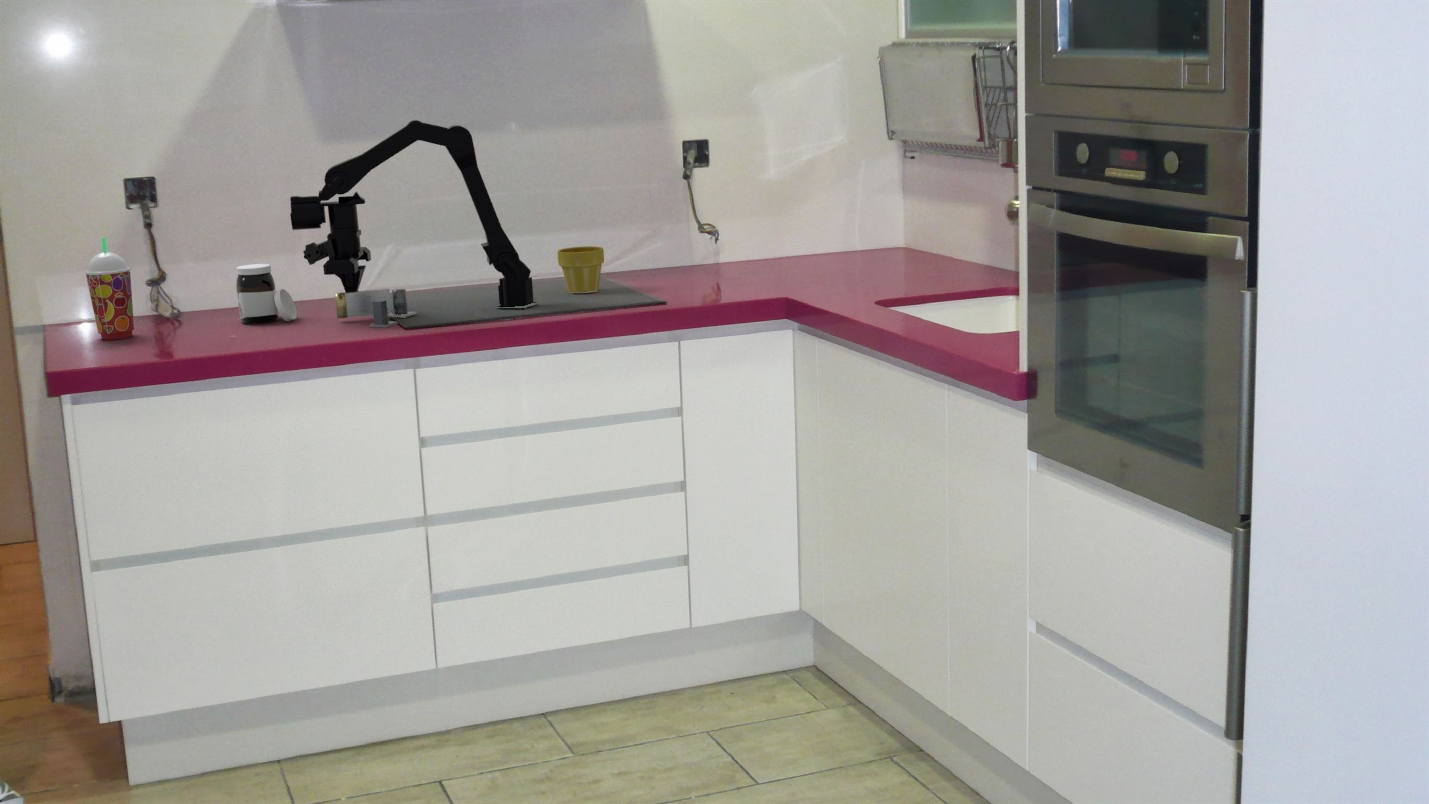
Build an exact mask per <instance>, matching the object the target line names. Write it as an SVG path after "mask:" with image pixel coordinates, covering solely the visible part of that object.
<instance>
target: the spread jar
mask: <svg viewBox="0 0 1429 804" xmlns="http://www.w3.org/2000/svg"><path fill="white" fill-rule="evenodd" d="M271 272H272V267H271V264H267V263H256V264H255V263H252V264H244V265H239V266H236V274H237V277H236V283H235V286H236V287H235V288H236V297H237V304H238V305H237V306H238V310H239V311H238V312H239V319H240V321H241V323H242V324H245V325H262V324H267V323H268V324H269V323H273V322H275V321H277V320H278V318H279V315H280V316H281V318H282V319H283V320H284V321H286V322H291V321H294V320H296V319H297V316H298V311H297V307H296V304H295V302H294V299H293V298H292V296H291V295H290V293H289V291H287V290H286V289H285V288H280V289H278V290H276V284H275V279H274V277H273V274H271Z"/></svg>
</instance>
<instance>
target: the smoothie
mask: <svg viewBox="0 0 1429 804" xmlns="http://www.w3.org/2000/svg"><path fill="white" fill-rule="evenodd" d="M101 243H102V252H98V253H97V254H95V255H94V256H92V258H90V261H89V262H88V265H87V267H86V270H85V271H84V274H85V277H86V280H87V286H88V290H89V295H90V301H91V306H92V310H93V314H94V320H95V323H96V325H95V326H96V329H97V333H98V334H100V337H101V339H102V340H106V341H114V340H115V341H116V340H124V339H125V340H126V339H128V338H131V337H132V336H133V331H134V330H135V320H134V307H133V306H134V305H133V295H132V279H131V277H132V276H131V267H130V266H129V265H128V263H127V262H126V260H125V259H124V258H123V257H122V256H121V255H120V254H117V253H116V252H115V253H114V252H113V251H108V249H107V243H106V238H104V237H102V238H101Z"/></svg>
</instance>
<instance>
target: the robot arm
mask: <svg viewBox="0 0 1429 804" xmlns="http://www.w3.org/2000/svg"><path fill="white" fill-rule="evenodd" d="M418 141H422V142H426V143H430V144H434V145H436V146H437V145H438V146H442V147H445V149H446V151H447V152H448V154H449V155H450V157H451V159H452V160H453V161H454V164H455V165H456V167H457V168H458V169H459V171H460V173H461V176H462V178H463V180H464V181H463V182H464V183H465V186H466V188H467V191H468V193H469V195H470V198H471V201H472V203H473V205H474V208H475V211H476V213H477V216H478V219H479V221H480V224H481V226H482V229H483V232H484V235H485V240H486V242H483V243H482V242H481V243H480V246H481V247H482V249H483V250H484V252H485V254H486V261H487V263H488V265H489V266H492V267H493V268H494V269H495V270H496V271H497V272H498V273H500V274H501V275H502V277H501V278H499V281H498V282H499V285H498V286H497V289H498V290H497V291H498V300H499V301H498V304H499V305H497V307H515V306H525V305H528V304H531V303H534V302H535V301H534V300H535V299H534V289H533V288H534V287H533V277H532V276H531V277H530V275H531V272H532V271H531V269H530V268H529V267H528V265H527V264H526V263H524V261H522V260H521V259H520V256H519V254H518V251H517V250H516V248H515V247H514V245H513V243H512V242H511V240H510V239H509V237H508V236H507V234H506V232H505V231H504V229H503V227H502V224H501V222H500V219H499V217H498V215H497V212H496V210H495V207H494V204H493V202H492V199H491V197H490V194H489V191H488V189H487V186H486V184H485V182H484V179H483V176H482V174H481V172H480V169H479V167H478V161H477V160H478V159H477V155H476V150H475V146H474V140H473V137H472V134H471V132H470V130H469V129H467V128H466V127H464V126H462V125H461V124H460V125H458V124H454V125H450V126H449V127H445V126H440V125H437V124H431V123H428V122H427V123H426V122H422V121H421V120H417V119H413V120H410V121H409V122H408V123H406V125H405V126H404V127H402V128H400V129H398V130H397V131H396V132H394V133H392V134H391V135H389V136H388V137H386V138H384V139H382V140H381V141H380V142H378V143H377V144H375V145H374V146H372V147H371V148H369V149H367V150H366V151H364V152H363V153H361V154H359V155H357V156H354V157H351V158H348V159H346V160H344V161H341V162H339V163H337V164H334V165H332V166H330V167H329V168H328V170H327V171H326V173H325V175H324V179H323V180H324V186H323V187H322V188H321V190H319V191H318V195H309V196H301V195H299V196H298V195H293V196H290V197H289V199H290V213H289V214H290V222H291V223H290V224H291V228H292V231H300V230H301V231H302V230H315V229H317V230H319V229H322V225H323V224H326V223H327V220H326V219H327V218H326V207H327V211H328V212H327V214H328V222H329V223H328V224H329V233H328V234H327V236H326V238H327V240H324V241H322V242H320V243H316V242H315V241H313V242H311V243H308V244H306V245H305V249H304V250H303V258H304V259H305V260H307V262H308V265H309V266H311V265H314V264H316V262H319V261H321V260H323V259H325V258H328V260H327V261H325V263H324V264H323V265H322V266H323V275H324V276H327V275H328V276H329V275H330V276H331V275H334V276H336V277H337V278H339V279H340V281H341V284H342V287H343V290H344V291H345V292H355V291H359V288H360V285H361V282H362V279H363V276H364V272H365V270H366V267H367V266H366V265H364V264H363V265H359V263H360V262H359V261H365V262H370V261H372V255H371V253H372V252H371V250H370V249H369V247H368V248H367V247H366V246H361V241H360V240H361V238H360V236H361V235H362V230H361V229H359V228H360V227H359V218H358V207H357V205H364V204H365V203H366V198H364V197H362V196H361V195H360V194H359V193H358V191H355V192H354V194H353V195H346V194H347V193H349V192H350V191H351V190H352V189H354V187H355V186H356V185H357V184H358V183H360V182H361V181H362V180H363V179H364V178H365V176H367V175H368V174H369V173H370V172H371V171H372V170H373V169H375V168H377V167H378V166H380V165H382V163H385V162H386V161H387V160H389V159H390V158H393V157H394V156H395V155H397V154H399V153H400V152H401V151H404V149H406V148H408V147H410V146H411V145H412V144H414V143H416V142H418ZM336 195H340V196H337V197H338V201H336V200H335V201H329V200H331V199H332V198H334V197H335V196H336ZM341 195H342V196H341ZM343 195H345V196H343ZM345 292H344V293H345Z"/></svg>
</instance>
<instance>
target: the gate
mask: <svg viewBox="0 0 1429 804" xmlns="http://www.w3.org/2000/svg"><path fill="white" fill-rule="evenodd" d="M377 300H386V301H387V312H388V314H390V313H393V312H392V304H391V303H392V302H391V301H392V300H391V293H390V288H388V287H387V288H379V289H378V288H376V289H367V290H366V289H365V290H358V291H355V292H336V293H334V301H335V309H336V318H337V319H346V318H354V317H364V316H372V315H373V316H374V314H373V304H372V302H373V301H377Z"/></svg>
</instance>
